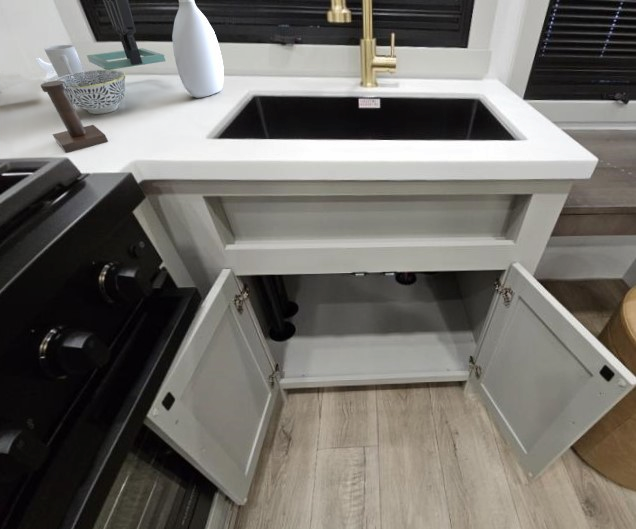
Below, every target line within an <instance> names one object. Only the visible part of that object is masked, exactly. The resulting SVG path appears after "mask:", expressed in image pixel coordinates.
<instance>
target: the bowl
mask: <svg viewBox="0 0 636 529" xmlns="http://www.w3.org/2000/svg"><path fill="white" fill-rule="evenodd" d="M54 81H64V82H65V83H66V86H67V89H65V90H66V92H67V94H68V96H69V98H70V100H71V102H72V104H73V106H76V107H78V108H80V109H83V110H87V111H88V113H89V114H93V115H103V114H109V113H111V112H115V111H117V110H118V109H119V104H120V103H121V102H122V101H123V99H124V97H125V95H126V72H124V71H122V70H118V69H112V70H105V69H93V70H92V69H91V70H84V72H78V73H73V74H69V75H65V76H62V77H59V78H57V79H55V80H54Z"/></svg>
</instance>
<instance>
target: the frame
mask: <svg viewBox="0 0 636 529" xmlns="http://www.w3.org/2000/svg"><path fill="white" fill-rule="evenodd" d="M138 50H139V53H140V56H141V60H142V63H143V64H137V65H132V64H131V61H130V59H127V57H126V54H125V51H124V50H118V51H117V50H116V51H109V52H101V53H94V54H87V55H86V57H87V60H88V62H89V63H91V64H94V65H95V66H97V67H99V68H101V69H102V70H118V69H124V68H131V67H137V66H143V65H151V64H158V63H163V62H166V57H165V54H163V53H161V52H156V51H153V50H150V49H147V48H143V47H141V48H138Z"/></svg>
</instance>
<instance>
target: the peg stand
mask: <svg viewBox="0 0 636 529" xmlns="http://www.w3.org/2000/svg"><path fill="white" fill-rule="evenodd" d="M39 87H40V88H41V89H42V92H44V93H47V95H48V97H49V98H50V101H51V103H52V104H53V106H54V108H55V110H56V111H57V114H58V116H59V117H60V119H61V121H62V123H63V125H64V127H65V129H66V130H65V131H61V132H56V133H53V134H52V136H53V139H54V140H55V142H56V144H58V145H59V147H60V148H61V149H62V150H63V151H64V152H65V153H69V152H73V151H77V150H82V149H84V148H85V149H86V148H88V147H93V146H96V145H100V144H103V143H107V142H109V140H108V138H107V136H106V134H105V133H104V132H103V131H101V130H100V129H99V128H98V127H97V126H95V125H94V124H91V125H86V126H84V124H83V123H82V121H81V118H80V116H79V115H78V113H77V110H76V109H75V105H74V104H73V103H72V102H71V100H70V98H69V96H68V94H67V92H66V90H65V89H67V86H66V83H65V82H64V81H52V82H44V83H41V84H40V85H39Z"/></svg>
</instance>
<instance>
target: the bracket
mask: <svg viewBox="0 0 636 529" xmlns="http://www.w3.org/2000/svg"><path fill="white" fill-rule="evenodd" d="M35 61H36V62H37V64H38V65H39V66H40V67H41V68H42V70H43V71H44V73H46V75H45V77H44V79H43V82H44V83H46V82H52V81H54V80H55V79H57V78H59V77H58V75H57V73H56V71H55V69H54V67H53V65H52V64H51V62H47V61H44V60H43V59H42V58H41V57H36V58H35Z"/></svg>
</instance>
